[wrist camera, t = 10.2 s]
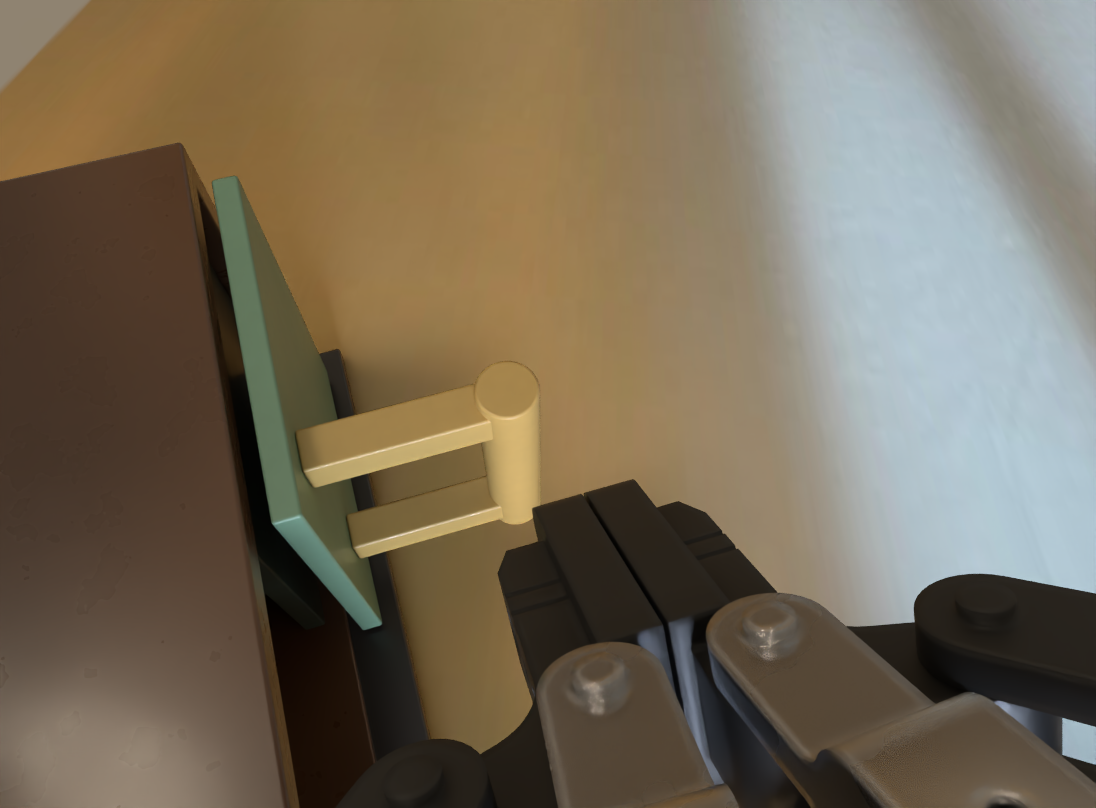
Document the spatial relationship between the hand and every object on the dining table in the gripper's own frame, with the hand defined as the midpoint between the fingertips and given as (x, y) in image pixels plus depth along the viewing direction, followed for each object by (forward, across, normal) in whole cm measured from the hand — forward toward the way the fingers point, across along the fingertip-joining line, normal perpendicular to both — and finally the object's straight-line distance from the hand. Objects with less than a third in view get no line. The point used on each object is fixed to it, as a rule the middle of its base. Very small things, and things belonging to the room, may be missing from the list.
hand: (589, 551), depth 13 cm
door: (+15, +2, +4) cm, 16 cm away
